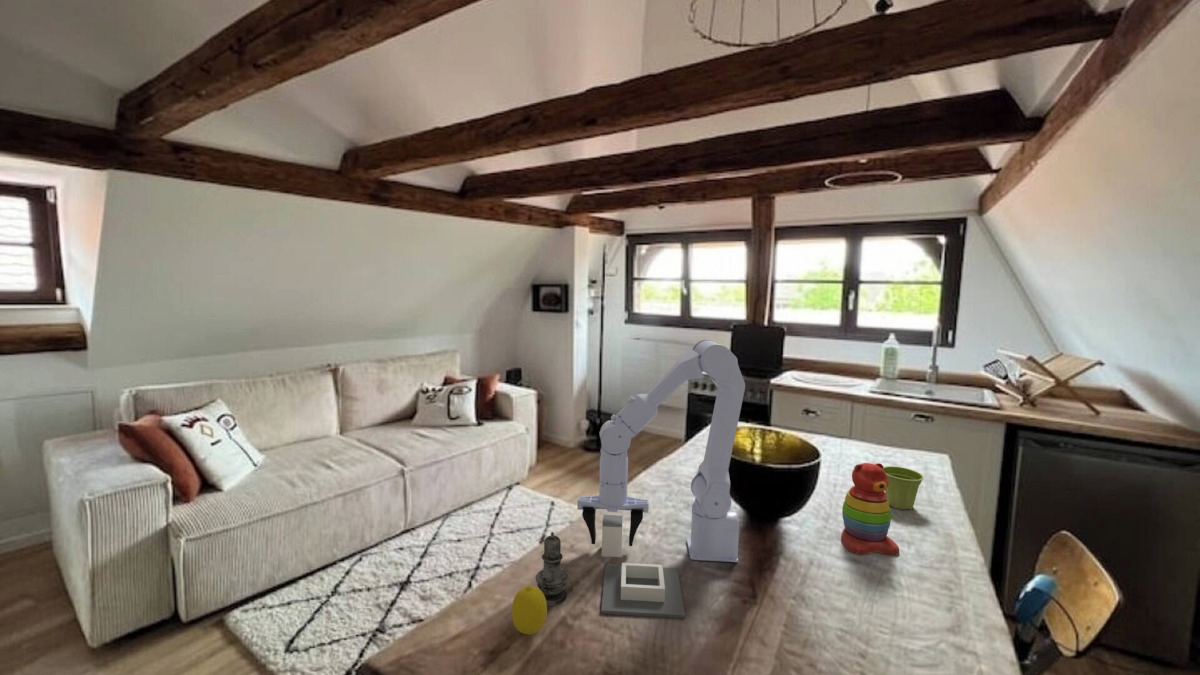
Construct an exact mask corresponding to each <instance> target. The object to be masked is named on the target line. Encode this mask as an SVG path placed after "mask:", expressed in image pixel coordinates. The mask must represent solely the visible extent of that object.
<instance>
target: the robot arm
mask: <svg viewBox="0 0 1200 675" xmlns="http://www.w3.org/2000/svg"><path fill="white" fill-rule="evenodd" d="M738 363H739V362H738V358H737V357H736V355H735V354H734V353H733V352H732V351H731V350H730V348H728V347H727V346H725V345H723V344H719V343H717V342H715V341H714V340H711V339H701V340H699V341H698V342H696V343H695V344H694V345H693V347H692V348H689V349H688V350H687V351H685V353H684V354H683V355H681V357H680V358H679V359H678V360H677V361H676V362H675V363H674V364H673V365H672V366H671V368H669V370H668V371H667V372H666V373H665V374H663V375H662V377H661V378H660V379H658V381H657V382H656V383H655V384H654V386H653V387H652V388H650V389H649V391H647V393H638V394H636V395H635V396H634V397H633V396H632V395H630V397H629V398H627V400H626V402H627V403H626V405H625V406H623V408H622V409H620V410H619V412H617V413H616V414H612V415H611V417H610V419H611V420H607V421H605V422H603V424H602V426H601V427H600V431H599V432H598V434H599V438H600V443H601V448H600V456H599V487H598V488H599V493H598V494H599V495H590V496H578V497H577V503H576V504H577V510H579V511H580V510H582V513H581V516H582V519H583V521H584V522H585V524H586V526H587V529H588V532H589V535H590V540H591V544H592V545H596V540H597V538H596V535H597V531H596V511H597V510H606V511H607V512H609V513H617V512H619V511H630V524H629V525H630V526H629V534H628V535H629V536H628V547H633V544H634V538H635V535H636V533H637V531H638V528H639V526H640V524H641V523H642V521H643V518H644V513H645V514H646V513H647V514H648V513H649V508H650V507H649V506H650V504H649V499H643V498H642V499H641V498H637V497H632V496H628V475H629V473H628V471H629V470H628V467H629V458H628V450H629V448H630V447H631V443H632V442H631V441H632V438H635V437H636V436H637V435H638V434H639V433H640V432H641V431H642V430H643V429H644V428H646V427H647V425H648V424H649V423H650V422H651V421H653V420H654V419H655V418H656V417H657V416H658V411H659V410H658V407H659V406H660V404H662V403H663V402H664V401H666V399H667V398H668V397H670V396H671V395H672V394H673V393H674V392H676V390H677V389H679V388H680V387H681V386H682V385H684V383H686V382H687V381H689V380H698V379H699V380H700V379H704V378H705V376H704V374H703V372H704V373H705V374H706V375H707V376H708V378H710V380H711V381H712V382H713V384H714V385H715V386H716V388H717V392H716V397H715V402H714V406H713V407H714V408H713V413H712V417H711V422H710V427H709V432H708V436H707V442H706V446H705V452H704V458H703V460H702V462H701V463H700V464H699V465H698V469H697V472H696V473H695V475H694V476H693V478H692V480H691V483H690V490H691V492H692V494H693V496H694V497H695V498H694V501H693V503H692V505H691V527H690V528H691V529H690V538H689V537H688V538H687V539H686V543H687V544H686V545H687V548H688V553H689V557H690V559H691V560H693V561H708V562H726V563H727V562H728V563H729V562H730V563H738V562H739V558H738V555H739V536H740V535H739V534H740V530H739V529H740V528H739V526H740V523H739V517H738V514H737V511H735V510H731V506H732V497H731V493H730V491H731V490H730V489H731V480H730V473H729V468H730V464H731V459H732V458H731V457H732V453H733V448H734V443H735V439H736V434H737V429H738V424H739V421H740V420H739V419H740V415H741V410H742V404H743V400H744V395H745V391H746V383H745V380H744V377H743V375H742V374H743V373H742V372H741V370H740V366H739V364H738Z"/></svg>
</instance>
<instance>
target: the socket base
mask: <svg viewBox="0 0 1200 675" xmlns="http://www.w3.org/2000/svg"><path fill="white" fill-rule="evenodd" d="M681 587H682V586H681V580H680V575H679V569H678V568H676V567H664V566H663V564H658V563H657V564H655V563H653V564H652V563H637V562H635V563H634V562H621V564H607V563H606V564H605V568H604V577H603V589H602V599H601V610H600V612H601V614H604V615H605V614H606V615H618V616H634V617H636V616H637V617H653V618H654V617H655V618H667V619H669V618H670V619H671V618H672V619H686V612H685V607H684V600H683V593H682V588H681Z"/></svg>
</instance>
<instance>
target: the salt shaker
mask: <svg viewBox="0 0 1200 675" xmlns="http://www.w3.org/2000/svg"><path fill="white" fill-rule="evenodd" d="M561 545H562V544H561V538H560V537H559V536H557V535H555V532H554V531H551V533H550V535H548V536H546V537H545V539H544V541H543V546H544V547H543V554H542V555H541V558H542V561H543V569H542V570H540V571H539V572H537V574H535V577H534V578H535V582H536V583H537V585H536V586H537V588H539V589H540V590H541V591H542V592H543V594H544V596H545V599H546V603H547V606H557V605H560V604H563V602H565V601H566V599H567V596H568V594H567V591H566V590H565V588H566V586H567V583H568V581H569V579H570V577H569V574H568V571H565V569H562V567H561V566H562V565H561V563H562V560H563V556H564V555H563V554H562V553H561V549H562V548H561V547H562V546H561Z"/></svg>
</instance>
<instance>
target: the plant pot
mask: <svg viewBox="0 0 1200 675" xmlns="http://www.w3.org/2000/svg"><path fill="white" fill-rule="evenodd" d="M883 470H884V471H885V473H886V475H887V477H888V480H889V484H888V487H887V488H886V490H885V491H884V492H885V493H886V495H887V497H888V498H887V499H888V501H889V506H890V507H891V508H894V507H895V508H894V509H897V508H899V509H898V510H901V509H906V510H912V508H914V506H915V501H916V498H917V495H918V490H919V489H920V488H919V487H920V485H921V483H922V481H923V480H924V479H925V477H924V475H923V474H922V473H920V472H918V471H916V470H913V469H911V468H906V467H903V466H895V465H894V466H891V465H890V466H883Z"/></svg>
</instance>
